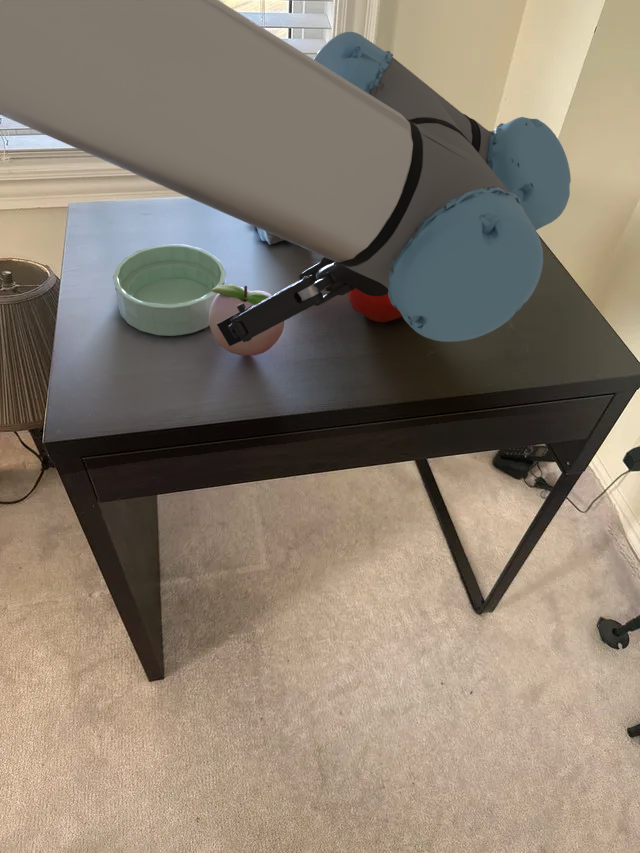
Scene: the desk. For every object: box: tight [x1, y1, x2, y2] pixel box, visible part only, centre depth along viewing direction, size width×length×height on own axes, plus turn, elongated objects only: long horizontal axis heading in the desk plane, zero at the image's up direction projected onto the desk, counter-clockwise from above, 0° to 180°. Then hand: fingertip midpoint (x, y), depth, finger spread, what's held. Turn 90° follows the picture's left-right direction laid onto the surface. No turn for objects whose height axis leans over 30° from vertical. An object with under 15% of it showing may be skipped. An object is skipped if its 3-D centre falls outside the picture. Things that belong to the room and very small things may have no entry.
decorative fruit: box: [209, 283, 285, 356], centre depth 78 cm, size 9×8×10 cm
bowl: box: [112, 243, 227, 337], centre depth 85 cm, size 14×14×5 cm
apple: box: [347, 288, 403, 323], centre depth 85 cm, size 10×10×12 cm
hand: (269, 307), depth 73 cm, fingers open, 13 cm apart
